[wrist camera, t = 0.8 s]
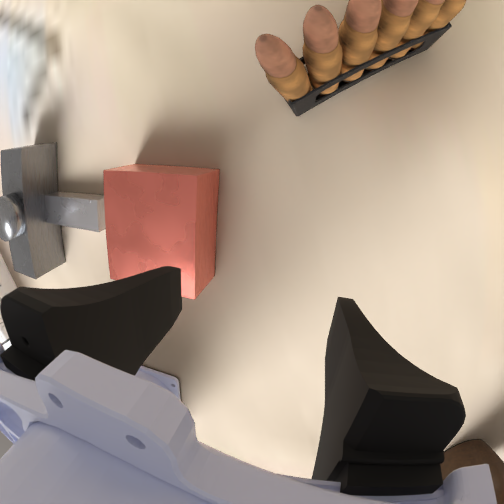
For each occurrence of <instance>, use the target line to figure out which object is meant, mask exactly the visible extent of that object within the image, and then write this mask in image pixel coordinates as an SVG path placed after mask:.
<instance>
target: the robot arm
mask: <svg viewBox="0 0 504 504" xmlns="http://www.w3.org/2000/svg"><path fill="white" fill-rule="evenodd" d="M181 310H182V293H181V268H177V267H172V266H164V267H160V268H156V269H153V270H149V271H146V272H143V273H140V274H136V275H133V276H130V277H127V278H123V279H119V280H116V281H112V282H108V283H104V284H99V285H93V286H87V287H78V288H68V289H39V288H27V287H19V288H16V289H15V290H13V291H12V292H10V293H8V294H7V295H5V296H4V297H3V298H2V299H1V304H0V311H1V316H2V319H3V322H4V325H5V328H6V331H7V333H8V336H9V339H10V341H11V344H12V346H10V347H9V348H8V349H7V350H4V348H3V346H2V344H1V343H0V431H1V432H2V433H3V434H4V435H5V436H6V437H7V438H8V439H9V440H10V441H11V442H12V443H14V444H13V446H12V447H11V448H10V449H9V450H8V451H7V452H6V453H5V454H4V456H3V457H2V458H1V459H0V504H497V501H496V496H495V491H494V486H493V481H492V477H491V472H490V468H489V464H482V465H475V466H467V467H462V468H458V469H456V470H454V471H453V472H451V473H450V474H449V475H448V476H447V477H446V478H445V480H444V481H443V479H442V472H441V465H440V464H442V463H443V462H444V459H445V457H444V451H443V450H444V449H445V447H446V446H447V445H448V444H449V443H450V441H451V440H452V439H453V438H454V437H455V435H456V434H457V433H458V431H459V430H460V428H461V427H462V425H463V424H464V420H465V417H466V414H465V408H464V405H463V402H462V399H461V396H460V394H459V391H458V389H457V387H454V386H452V385H450V384H448V383H445V382H443V381H441V380H439V379H437V378H435V377H433V376H431V375H429V374H428V373H426V372H424V371H423V370H421V369H419V368H418V367H416V366H415V365H413V364H412V363H411V362H409V361H408V360H407V359H405V358H404V357H403V356H401V355H400V354H399V353H398V352H397V351H396V350H395V349H393V348H392V347H391V346H390V345H389V344H388V343H387V342H386V341H385V340H384V339H383V338H382V337H381V335H380V334H379V333H378V332H377V331H376V330H375V329H374V327H373V326H372V325H371V324H370V322H369V321H368V320H367V318H366V317H365V316H364V314H363V313H362V311H361V310H360V308H359V307H358V306H357V304H356V303H355V301H354V300H353V299H349V298H342V297H338V299H337V303H336V307H335V312H334V316H333V320H332V324H331V327H330V331H329V335H328V339H327V348H326V356H325V408H324V417H323V423H322V430H321V436H320V441H319V447H318V452H317V457H316V462H315V467H314V471H313V476H312V479H307V478H299V477H293V476H287V475H281V474H275V473H273V472H270V471H267V470H264V469H262V468H259V467H256V466H254V465H251V464H249V463H246V462H244V461H241V460H239V459H237V458H234V457H232V456H230V455H227V454H225V453H223V452H221V451H219V450H216V449H214V448H212V447H210V446H208V445H206V444H204V443H202V442H199V441H198V440H197V438H196V431H195V422H194V420H193V418H192V416H191V414H190V412H189V409H188V408H187V406H186V405H185V404H184V403H183V402H182V401H181V397H180V388H179V380H178V379H177V378H176V377H174V376H171V375H167V374H164V373H161V372H158V371H155V370H153V369H150V368H147V367H144V366H141V365H142V364H143V362H144V361H145V360H146V358H147V357H148V356H149V354H150V353H151V352H152V351H153V350H154V348H155V347H156V346H157V345H158V343H159V342H160V341H161V340H162V338H163V337H164V336H165V335H166V333H167V332H168V331H169V330H170V328H171V327H172V326H173V324H174V322H175V321H176V319H177V317H178V315H179V314H180V312H181Z"/></svg>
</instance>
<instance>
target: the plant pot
mask: <svg viewBox="0 0 504 504" xmlns="http://www.w3.org/2000/svg"><path fill="white" fill-rule="evenodd" d="M444 457H445V459H444V462H443V463H442V464H440V465H441V472H442V479H443V481H444V480H445V478H446V477H447V476H448V475H449V474H450V473H451V472H453V471H454V470H456V469H458V468H462V467H467V466H475V465H482V464H489V468H490V472H491V477H492V481H493V486H494V491H495V496H496V501H497V504H504V462H503V461H502V460H501V459H500V457H499V456H498V455H497V454H496V453H495V452H494V451H493V450H492V449H491V448H490V447H489V446H488V445H487V444H486V443H485V442H484V441H482V440H470V441H467V442H464V443H461V444H458V445H456V446H454V447H452V448H450V449H449V450H447V451H446V452H444Z"/></svg>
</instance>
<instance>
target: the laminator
mask: <svg viewBox="0 0 504 504" xmlns="http://www.w3.org/2000/svg"><path fill="white" fill-rule="evenodd" d="M16 288H17V286H16V284H15V282H14V280H13V278H12V276H11V274H10V272H9V270H8V268H7V266H6V264H5V262H4V260H3V258H2V255H1V253H0V304H1V299H2V298H3V297H4V296H5V295H7V294H8V293H10V292H12V291H13V290H15V289H16ZM9 340H10V339H9V336H8V333H7V331H6V328H5V325H4V322H3V319H2V316H1V311H0V343H1V344H2V345H3V344H5V343H6V342H8V341H9Z"/></svg>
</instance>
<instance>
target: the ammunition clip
mask: <svg viewBox="0 0 504 504" xmlns="http://www.w3.org/2000/svg"><path fill="white" fill-rule="evenodd" d="M465 2H466V0H349V2H348V5H347V9H346V13H345V16H344V20H343V21H342V22H341V24H340V27H339V31H338V28H337V24H336V21H335V19H334V18H333V16H332V14H331V13H330V12H329V10H327V9H326V8H325V7H323V6H321V5H315V6H313V7H311V8H310V9H309V11H308V12H307V14H306V17H305V20H304V23H303V34H304V45H303V57H302V58H300V59H298V58H297V57H296V56H295V54H294V53H293V52H292V50H291V48H290V47H289V46H288V45H287V44H286V43H285V42H284V41H283V40H281V39H280V38H278V37H276V36H273V35H271V34H263V35H261V36H259V37H258V38H257V40H256V44H255V50H256V56H257V58H258V61H259V63H260V65H261V66H262V68H263V69H264V71H265V73H266V77H267V79H268V81H269V83H270V84H271V85H272V86H273V87H274V88H275V89H276V90H277V91H278V92H279V93H280V94H281V95H282V96H283V97H284V99H285V100H286V102H287V103H288V105H289V106H290V107H291V109H292V110H293V112H294V113H295V115H296V116H300V115H301V114H303V113H305V112H306V111H308V110H310V109H312V108H313V107H315V106H317V105H318V104H320V103H322V102H324V101H326V100H327V99H329V98H331V97H333V96H334V95H336V94H338V93H340V92H342V91H344V90H345V89H347V88H349V87H351V86H353V85H355V84H357V83H359V82H360V81H362V80H364V79H366V78H368V77H370V76H372V75H374V74H376V73H378V72H380V71H382V70H384V69H386V68H388V67H390V66H392V65H394V64H396V63H399V62H401V61H403V60H405V59H407V58H409V57H411V56H414V55H416V54H418V53H420V52H422V51H425V50H427V49H428V48H429V47H430V46H431V45H432V44H433V43H434V42H436V41H437V40H438V39H439V38H440V37H441V36H442V35H443V34H444V33H445V32H446V31H447V30H448V29H449V28H450V27H451V26H452V25H451V24H450V21H451V20H452V19H453V18H454V17H455V16H456V15H457V14H458V13H459V12H460V11H461V10H462V8H463V7H464V5H465ZM304 64H306V67H307V71H308V74H307V71H306V69H305V67H304Z"/></svg>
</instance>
